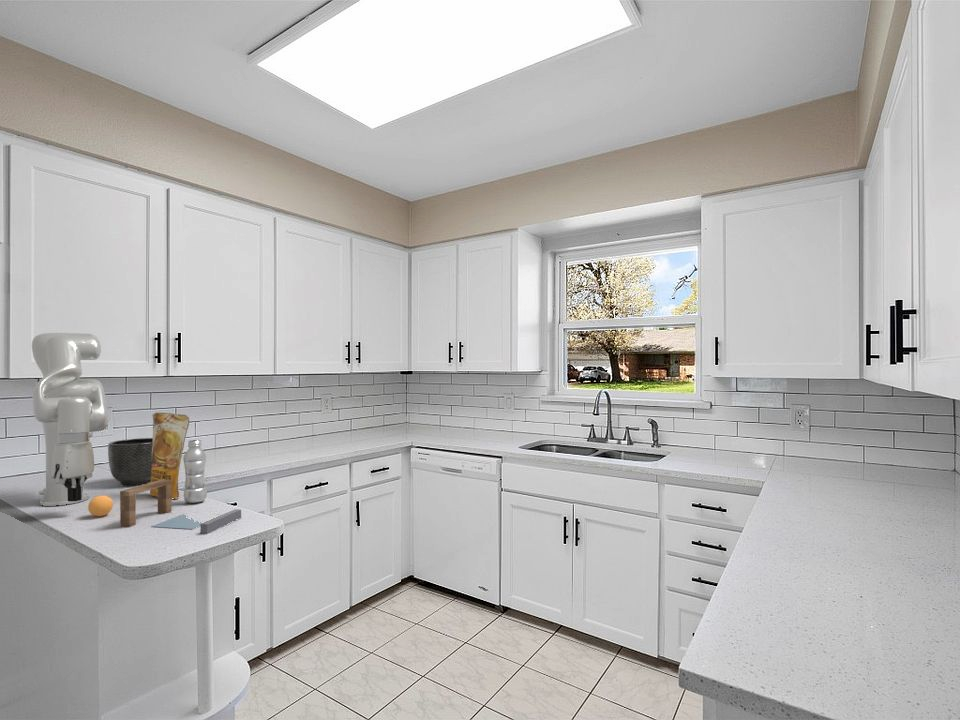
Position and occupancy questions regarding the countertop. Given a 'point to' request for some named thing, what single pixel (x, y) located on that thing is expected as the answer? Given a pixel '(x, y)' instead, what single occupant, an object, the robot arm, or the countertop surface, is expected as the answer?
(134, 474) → the planter
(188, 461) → the plastic bottle
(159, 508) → the bridge
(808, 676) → the countertop surface
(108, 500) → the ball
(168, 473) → the pancake mix bag
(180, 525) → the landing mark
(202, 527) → the stopper
